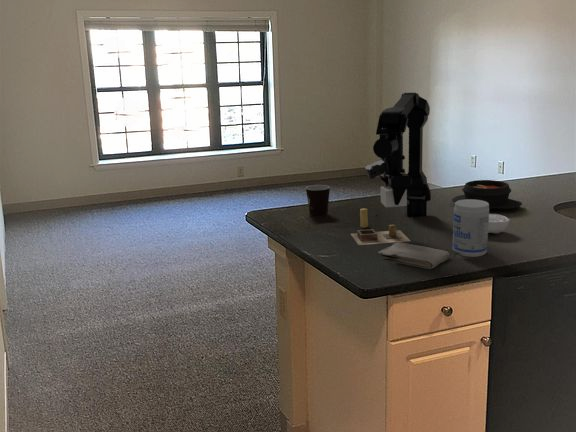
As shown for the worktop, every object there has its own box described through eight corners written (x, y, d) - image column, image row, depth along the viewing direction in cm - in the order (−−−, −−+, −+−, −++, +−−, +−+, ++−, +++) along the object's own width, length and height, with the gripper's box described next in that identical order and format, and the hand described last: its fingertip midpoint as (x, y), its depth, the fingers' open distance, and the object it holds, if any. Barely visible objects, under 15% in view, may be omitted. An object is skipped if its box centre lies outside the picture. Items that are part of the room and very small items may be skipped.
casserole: (530, 205, 229) (531, 183, 227) (508, 217, 216) (509, 193, 214) (466, 197, 245) (466, 175, 243) (442, 207, 232) (442, 185, 230)
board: (399, 233, 203) (399, 219, 202) (410, 244, 192) (410, 229, 190) (350, 237, 202) (350, 223, 200) (358, 248, 190) (358, 233, 189)
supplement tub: (446, 254, 182) (447, 204, 178) (461, 245, 189) (462, 197, 185) (478, 260, 176) (480, 208, 172) (492, 251, 183) (494, 201, 179)
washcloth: (395, 249, 190) (395, 239, 189) (452, 259, 179) (452, 248, 178) (375, 260, 181) (374, 249, 180) (433, 271, 170) (433, 260, 169)
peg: (367, 228, 210) (366, 208, 208) (368, 230, 208) (368, 210, 206) (359, 229, 210) (359, 208, 208) (361, 231, 208) (361, 210, 206)
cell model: (501, 240, 192) (502, 218, 191) (464, 233, 200) (464, 213, 198) (514, 231, 200) (515, 211, 198) (478, 226, 207) (478, 206, 206)
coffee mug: (328, 217, 226) (328, 190, 223) (304, 217, 227) (303, 190, 225) (333, 209, 237) (332, 183, 234) (310, 209, 238) (309, 183, 236)
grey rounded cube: (400, 200, 199) (400, 185, 198) (406, 205, 193) (406, 189, 192) (380, 202, 198) (380, 186, 197) (386, 207, 192) (385, 191, 191)
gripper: (360, 148, 200) (361, 197, 204) (374, 159, 182) (375, 212, 186) (394, 146, 201) (395, 194, 205) (412, 156, 183) (412, 209, 187)
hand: (393, 202), depth 196 cm, fingers closed on grey rounded cube, 6 cm apart
